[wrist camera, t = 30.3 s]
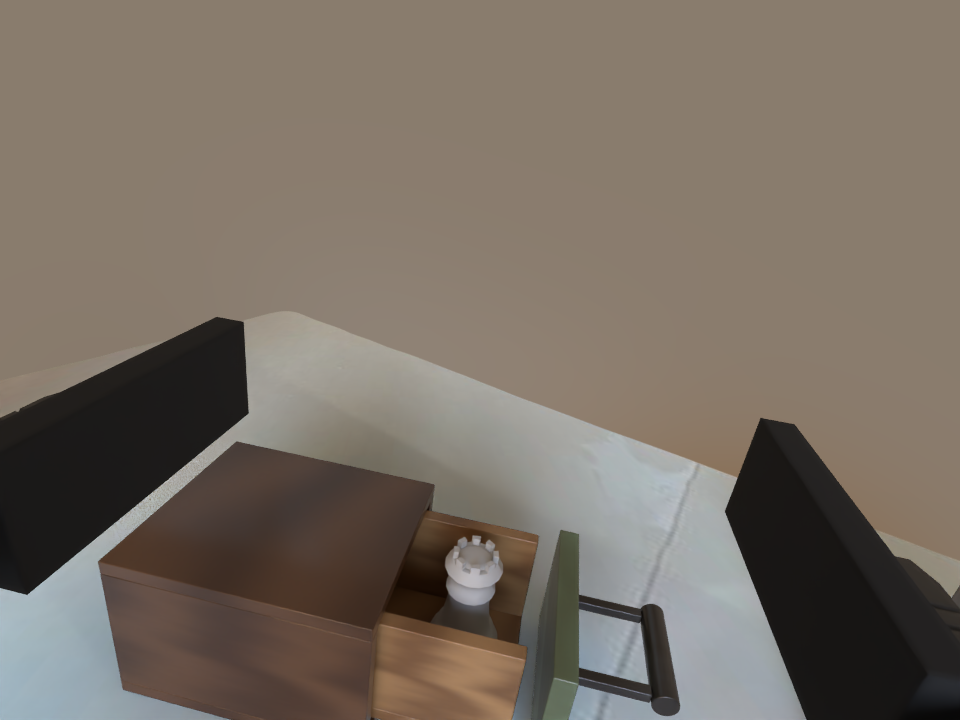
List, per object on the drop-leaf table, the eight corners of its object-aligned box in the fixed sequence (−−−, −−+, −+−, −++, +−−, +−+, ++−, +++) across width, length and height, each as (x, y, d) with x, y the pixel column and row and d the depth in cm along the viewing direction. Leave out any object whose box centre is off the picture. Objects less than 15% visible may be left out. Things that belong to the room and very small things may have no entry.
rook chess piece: (501, 632, 34) (522, 534, 31) (488, 698, 30) (509, 593, 27) (434, 614, 35) (448, 516, 32) (412, 675, 31) (425, 570, 28)
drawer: (639, 639, 36) (669, 553, 33) (661, 814, 27) (706, 716, 24) (377, 576, 38) (383, 490, 35) (310, 718, 29) (311, 617, 26)
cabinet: (422, 590, 39) (434, 484, 35) (363, 756, 28) (372, 630, 25) (242, 547, 40) (236, 441, 37) (122, 690, 30) (97, 561, 26)
